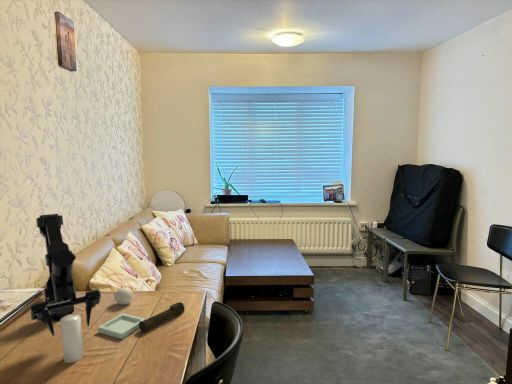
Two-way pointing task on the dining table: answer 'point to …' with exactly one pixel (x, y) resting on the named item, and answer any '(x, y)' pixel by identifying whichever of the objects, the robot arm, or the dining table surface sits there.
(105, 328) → the tray
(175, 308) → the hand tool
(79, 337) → the white rounded tapered cylinder
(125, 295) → the white ball
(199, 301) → the dining table surface
